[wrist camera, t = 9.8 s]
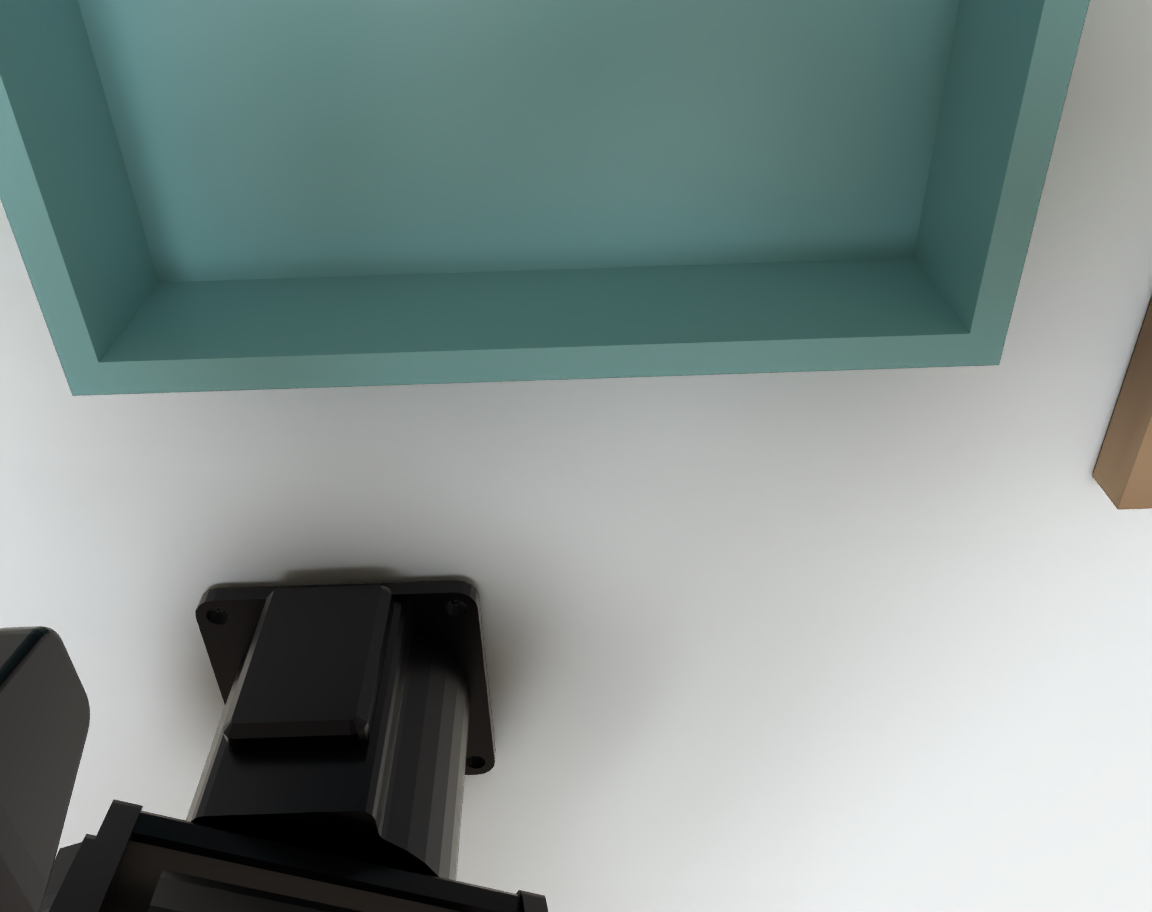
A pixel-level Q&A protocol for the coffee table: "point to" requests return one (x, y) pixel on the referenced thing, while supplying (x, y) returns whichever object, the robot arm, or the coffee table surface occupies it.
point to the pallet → (1131, 433)
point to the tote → (523, 185)
